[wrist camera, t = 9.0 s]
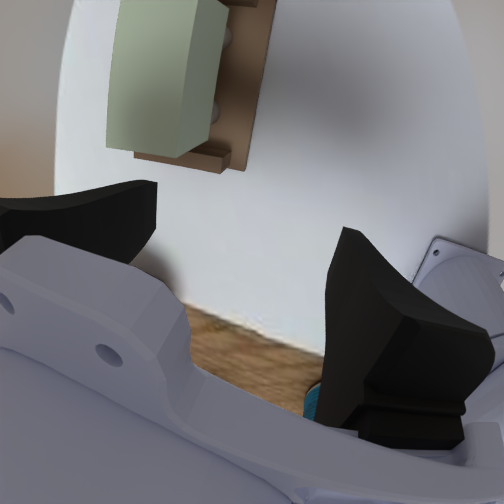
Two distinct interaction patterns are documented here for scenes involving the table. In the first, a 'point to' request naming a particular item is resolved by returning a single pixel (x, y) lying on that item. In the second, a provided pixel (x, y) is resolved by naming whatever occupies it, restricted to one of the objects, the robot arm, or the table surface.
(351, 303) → the robot arm
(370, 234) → the table surface
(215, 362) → the table surface
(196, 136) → the pale green block
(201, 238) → the table surface
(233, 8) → the peg frame
